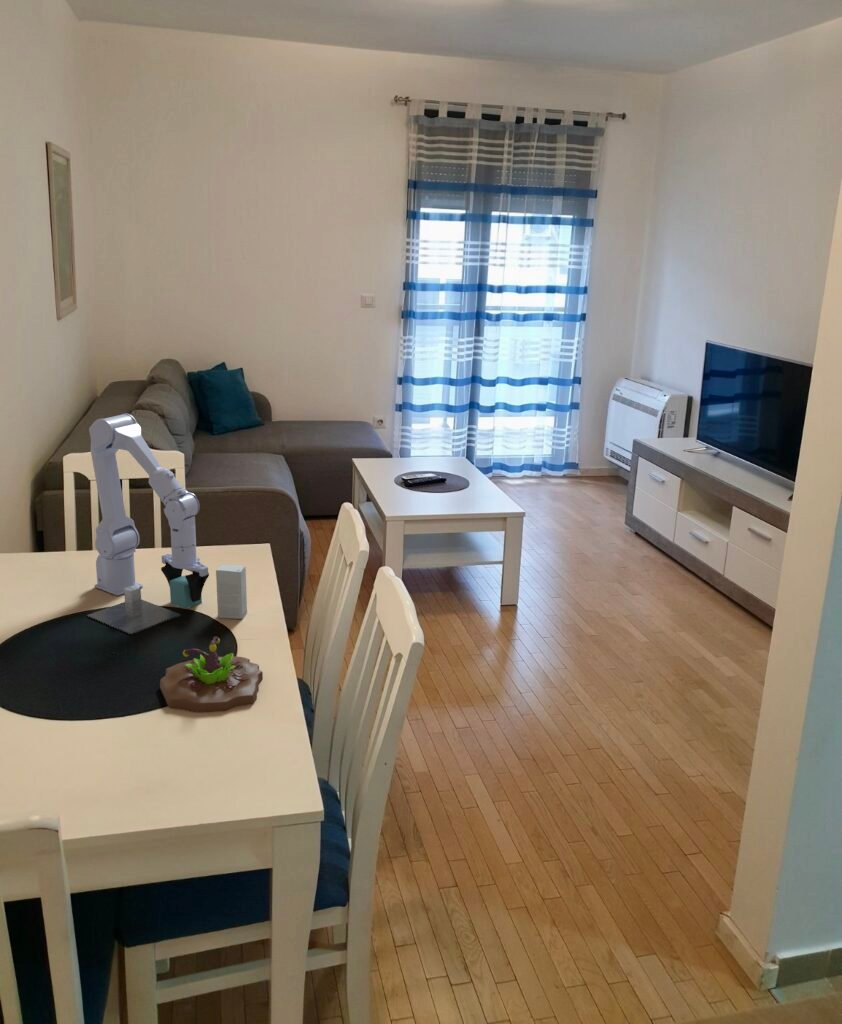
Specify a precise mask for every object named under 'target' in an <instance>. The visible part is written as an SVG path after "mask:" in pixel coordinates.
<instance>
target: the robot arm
mask: <svg viewBox="0 0 842 1024" xmlns="http://www.w3.org/2000/svg"><path fill="white" fill-rule="evenodd" d="M88 431H89V436H90V437H89V438H90V455H91V460H92V466H93V472H94V479H95V482H96V488H97V495H98V499H99V505H100V511H101V517H102V518H101V520H100V522H99V524H98V525H97V527H96V529H95V535H96V536H95V543H94V544H95V549H96V551H97V552H98V555H97V557H96V560H95V572H96V583H97V584H94V585H93V586H94V588H97V589H99V590H102V591H104V592H107V593H109V594H113V595H114V596H121V595H123V594H124V588H127V587H130V586H136V587H139V588H143V587H144V585H143V584H141V583H138V582H137V581H136V571H135V567H136V566H135V555H134V553H136V548H137V547H138V546H139V544H140V541H141V540H140V539H141V538H140V537H141V536H140V533H139V532H138V529H137V528H136V526H135V521H134V520H133V519H132V518H131V517H129V516H127V514H126V509H125V502H124V497H123V496H124V495H123V492H122V486H121V479H120V474H119V473H120V472H119V468H118V462H117V455H116V454H117V452H118V451H119V450H122V451H127V452H128V453H129V454H130V455H131V457H133V458H134V460H135V461H136V462H137V463H138V464H139V465H140V466H141V468H142V469H143V470H144V471H145V473H146V474H147V475H148V484H149V486H150V487H151V489H152V490H153V491H154V492H155V494H156V495H157V496H158V498H159V500H160V501H161V502H162V503H163V504H164V506H165V507H164V508H163V513H164V514H165V517H166V519H167V520H168V526H169V527H170V542H171V543H170V544H171V545H170V546H171V554H170V553H167V554H163V555H161V563H162V564H163V565H164V566H162V567H161V568H160V570H161V572H162V573H163V575H164V576H165V578H166V581H167V583H168V586H169V587H170V580H173V579H176V578H178V577H181V576H183V575H182V574H183V571H184V570H185V571H188V572H191V573H190V574H186V575H187V576H185V578H186V579H187V581H188V584H189V588H190V595H191V600H192V602H196V601H198V600H200V598H201V595H202V594H203V589H204V586H205V583H206V582H207V579H208V578H209V576H210V573H209V567H208V566H206V565H204V563H201V561H200V557H198V556H197V537H196V533H197V532H196V515H197V514H198V513H199V511H200V501H199V500H198V498H197V495H196V494H194V493H193V492H190V491H188V490H187V489H185V488H183V486H182V485H181V484H180V482H179V481H178V480H177V478H176V477H175V473H173V471H171V470H170V469H169V468H166V467H165V468H164V467H163V466H161V464H160V463H159V461H158V459H157V458H156V457H155V455H154V454H153V452H152V450H151V448H150V446H149V445H148V443H147V442H146V441H145V439H144V437H143V436H142V426H140V424H139V423H138V422H137V420H136V418H135V416H134V415H132V414H130V413H126V412H125V413H122V414H120V415H119V414H118V415H115V416H114V415H113V416H110V417H106V418H98V419H96V420H94V421H93V423H92V424H91V425H90V426H89V428H88Z"/></svg>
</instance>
